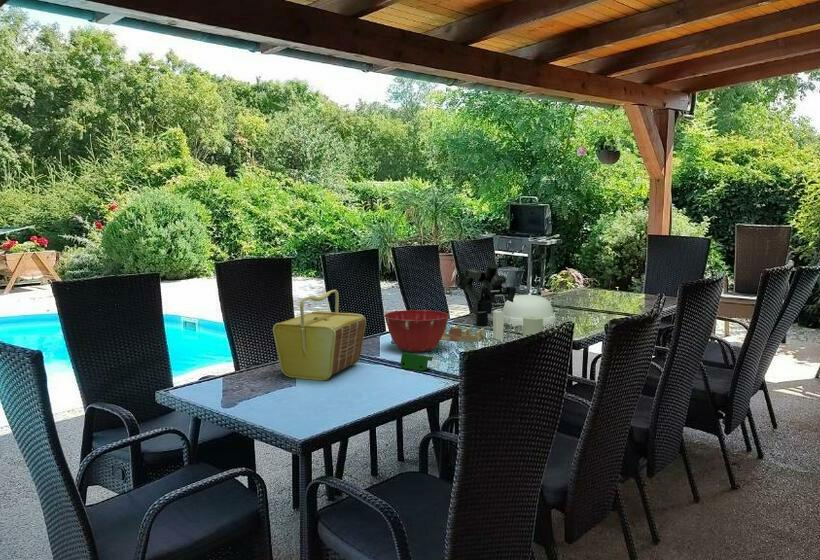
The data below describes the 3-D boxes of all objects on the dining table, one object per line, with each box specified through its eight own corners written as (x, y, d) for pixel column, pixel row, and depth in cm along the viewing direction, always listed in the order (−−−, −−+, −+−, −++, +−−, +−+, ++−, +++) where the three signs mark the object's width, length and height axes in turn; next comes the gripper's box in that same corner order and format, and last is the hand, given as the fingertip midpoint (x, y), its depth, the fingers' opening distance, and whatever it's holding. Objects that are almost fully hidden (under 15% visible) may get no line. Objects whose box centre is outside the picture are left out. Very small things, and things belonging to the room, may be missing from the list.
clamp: (426, 379, 243) (437, 359, 241) (418, 379, 238) (428, 358, 237) (405, 363, 250) (415, 343, 248) (396, 363, 245) (406, 342, 243)
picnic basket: (334, 384, 222) (332, 300, 219) (271, 377, 231) (269, 297, 228) (368, 364, 249) (367, 289, 246) (311, 359, 258) (309, 287, 255)
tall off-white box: (493, 337, 298) (493, 310, 297) (500, 337, 299) (500, 310, 297) (495, 339, 293) (496, 312, 292) (503, 339, 294) (503, 312, 292)
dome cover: (523, 314, 363) (523, 290, 361) (568, 321, 341) (568, 295, 339) (487, 321, 341) (487, 295, 339) (532, 329, 319) (532, 301, 318)
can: (520, 343, 285) (520, 317, 284) (524, 339, 294) (525, 314, 292) (540, 345, 282) (541, 318, 280) (544, 340, 290) (545, 315, 289)
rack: (444, 334, 306) (444, 322, 306) (484, 337, 298) (484, 325, 298) (435, 339, 294) (435, 327, 294) (476, 343, 287) (476, 330, 286)
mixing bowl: (392, 340, 293) (392, 308, 291) (453, 343, 287) (453, 309, 285) (377, 355, 265) (376, 319, 263) (444, 357, 259) (444, 321, 257)
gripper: (477, 272, 309) (489, 288, 296) (510, 271, 315) (524, 286, 302) (473, 292, 314) (485, 308, 301) (506, 290, 320) (520, 306, 307)
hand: (504, 301), depth 303 cm, fingers open, 9 cm apart
